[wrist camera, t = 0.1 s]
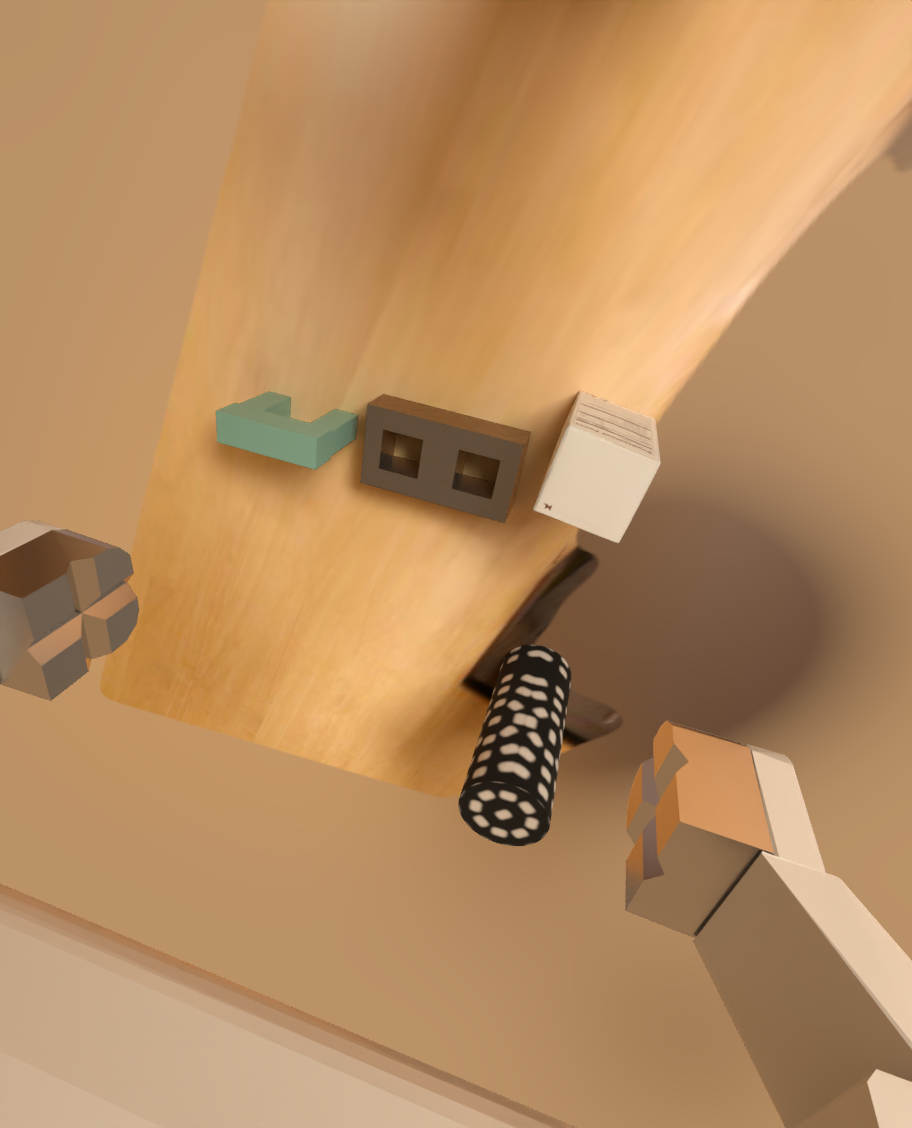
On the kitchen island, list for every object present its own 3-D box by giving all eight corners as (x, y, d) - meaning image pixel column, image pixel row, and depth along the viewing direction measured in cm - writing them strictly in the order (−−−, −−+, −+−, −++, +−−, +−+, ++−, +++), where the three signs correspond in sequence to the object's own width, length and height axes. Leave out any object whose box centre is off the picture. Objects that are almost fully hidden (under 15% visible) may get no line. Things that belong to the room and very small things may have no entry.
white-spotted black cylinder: (545, 634, 66) (513, 770, 49) (585, 686, 68) (568, 834, 51) (487, 660, 70) (440, 795, 53) (527, 709, 72) (493, 853, 55)
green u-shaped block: (268, 389, 60) (215, 410, 53) (358, 412, 59) (316, 438, 51) (268, 417, 62) (217, 442, 54) (355, 440, 60) (315, 469, 53)
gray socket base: (383, 394, 57) (367, 403, 54) (530, 432, 55) (524, 444, 52) (375, 469, 61) (360, 482, 58) (512, 506, 59) (504, 523, 56)
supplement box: (621, 488, 55) (617, 548, 45) (549, 459, 56) (528, 511, 45) (658, 416, 51) (664, 463, 41) (580, 386, 52) (566, 424, 41)
